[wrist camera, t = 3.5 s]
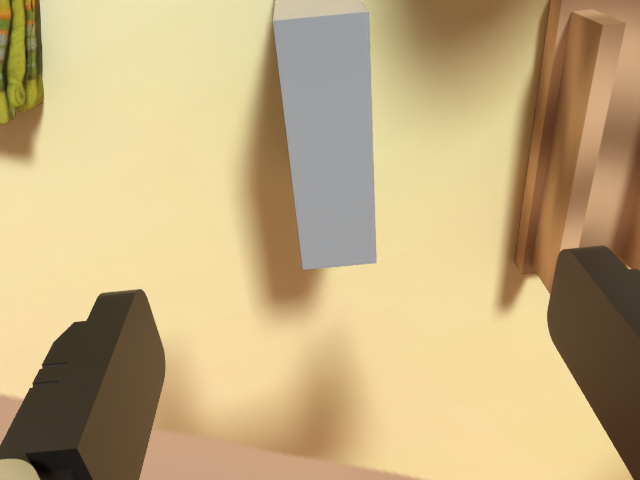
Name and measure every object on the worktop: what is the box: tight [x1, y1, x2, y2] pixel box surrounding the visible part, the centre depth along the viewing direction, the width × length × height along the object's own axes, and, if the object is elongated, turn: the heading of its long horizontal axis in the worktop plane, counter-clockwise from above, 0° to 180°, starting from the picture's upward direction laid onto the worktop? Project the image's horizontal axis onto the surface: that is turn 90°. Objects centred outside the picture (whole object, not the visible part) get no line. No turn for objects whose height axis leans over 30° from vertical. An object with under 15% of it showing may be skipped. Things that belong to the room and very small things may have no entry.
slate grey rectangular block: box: [273, 0, 376, 270], centre depth 20 cm, size 8×2×8 cm, turn 5°
